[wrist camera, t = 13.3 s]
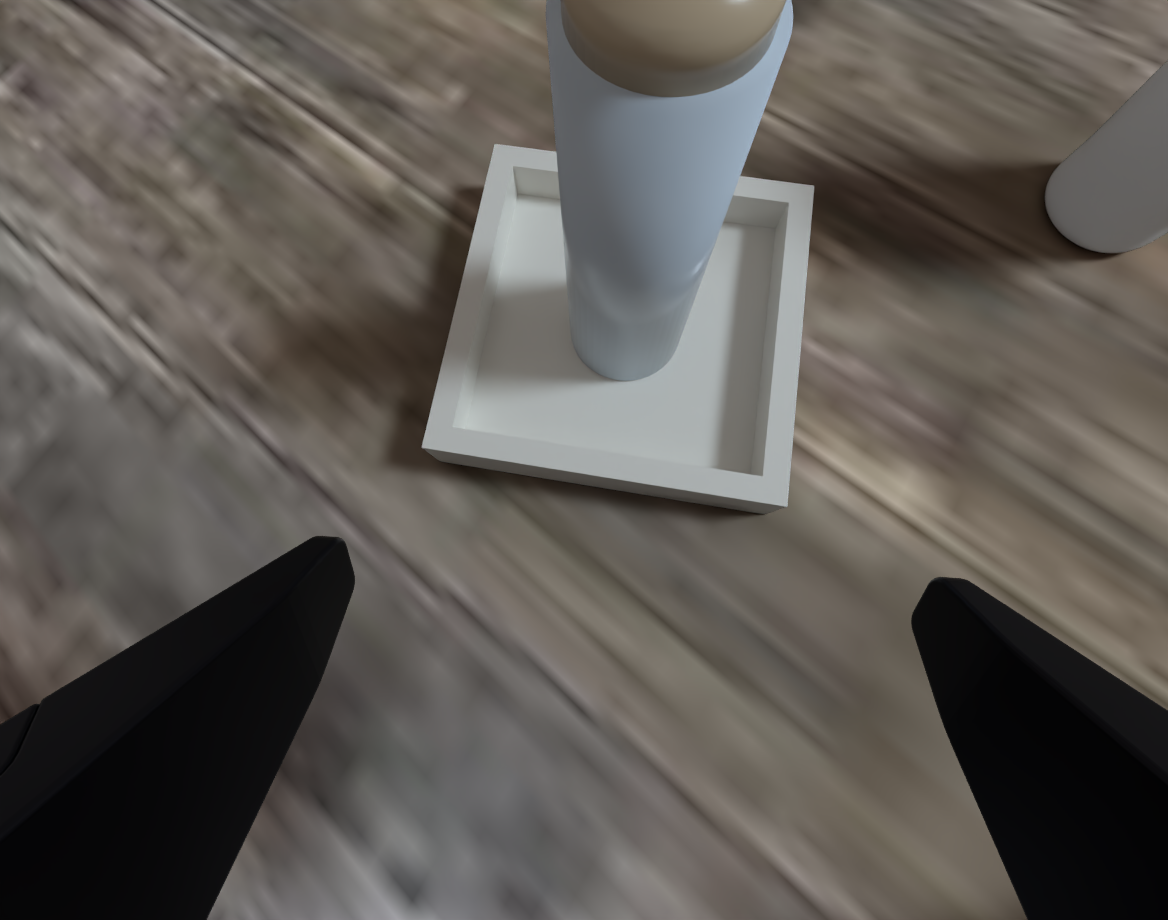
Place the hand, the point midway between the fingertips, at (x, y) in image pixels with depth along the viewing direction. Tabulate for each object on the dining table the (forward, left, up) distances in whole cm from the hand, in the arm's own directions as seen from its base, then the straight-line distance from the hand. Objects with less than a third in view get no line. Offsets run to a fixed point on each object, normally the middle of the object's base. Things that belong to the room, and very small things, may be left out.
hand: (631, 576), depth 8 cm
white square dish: (+11, +1, -14) cm, 17 cm away
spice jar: (+10, +1, -13) cm, 17 cm away
